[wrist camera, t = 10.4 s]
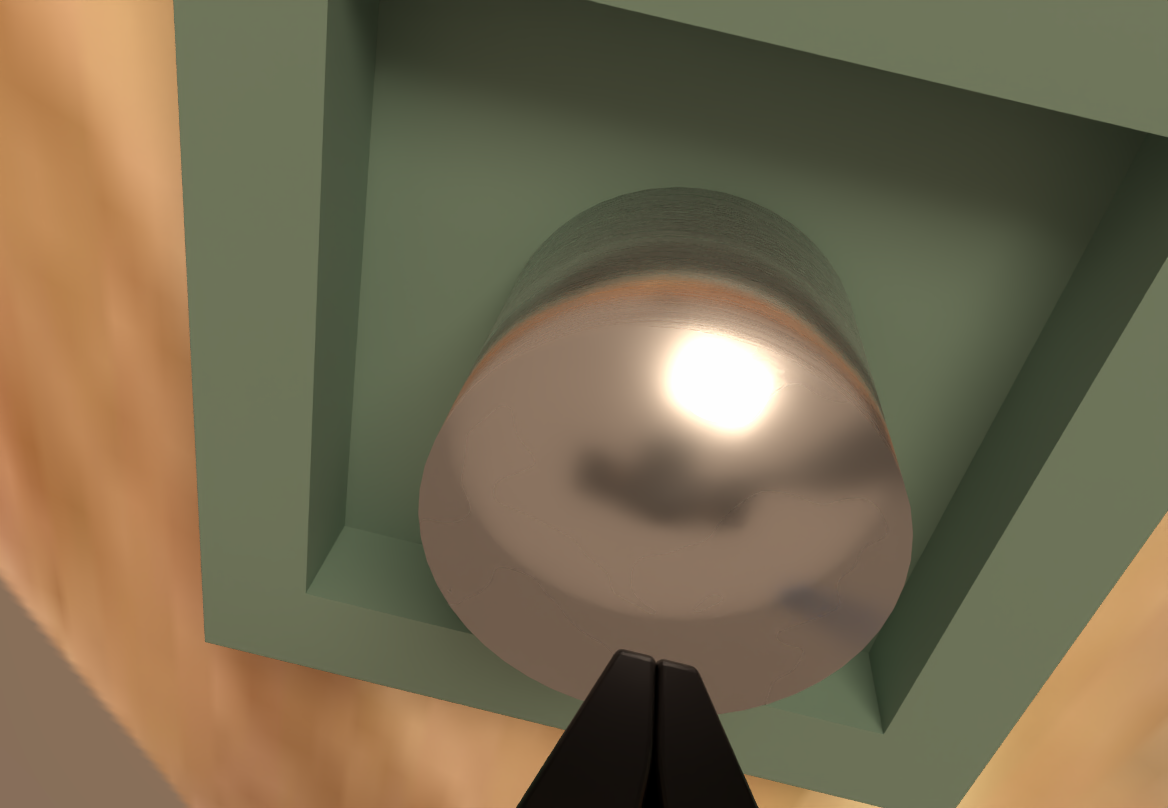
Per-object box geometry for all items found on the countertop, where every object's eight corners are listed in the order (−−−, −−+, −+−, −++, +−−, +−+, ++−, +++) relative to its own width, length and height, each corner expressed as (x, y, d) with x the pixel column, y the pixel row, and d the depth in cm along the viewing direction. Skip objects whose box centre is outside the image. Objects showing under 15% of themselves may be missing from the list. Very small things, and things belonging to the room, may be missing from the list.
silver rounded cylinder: (915, 240, 14) (1004, 406, 9) (788, 534, 17) (810, 759, 12) (535, 145, 14) (450, 268, 9) (480, 456, 17) (397, 654, 12)
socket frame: (1371, -16, 12) (1523, 11, 9) (919, 715, 20) (945, 823, 17) (264, -274, 12) (158, -308, 10) (263, 555, 20) (205, 641, 18)
